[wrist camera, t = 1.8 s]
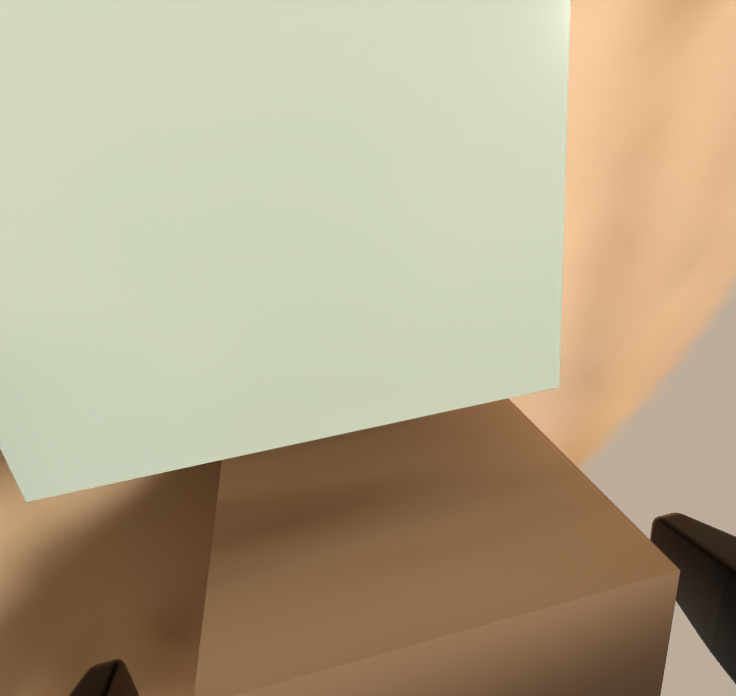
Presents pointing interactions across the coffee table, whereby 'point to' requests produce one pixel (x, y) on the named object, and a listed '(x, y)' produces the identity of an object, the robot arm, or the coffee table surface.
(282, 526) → the walnut cube
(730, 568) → the robot arm
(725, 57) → the coffee table surface
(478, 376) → the pale green block
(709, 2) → the coffee table surface
